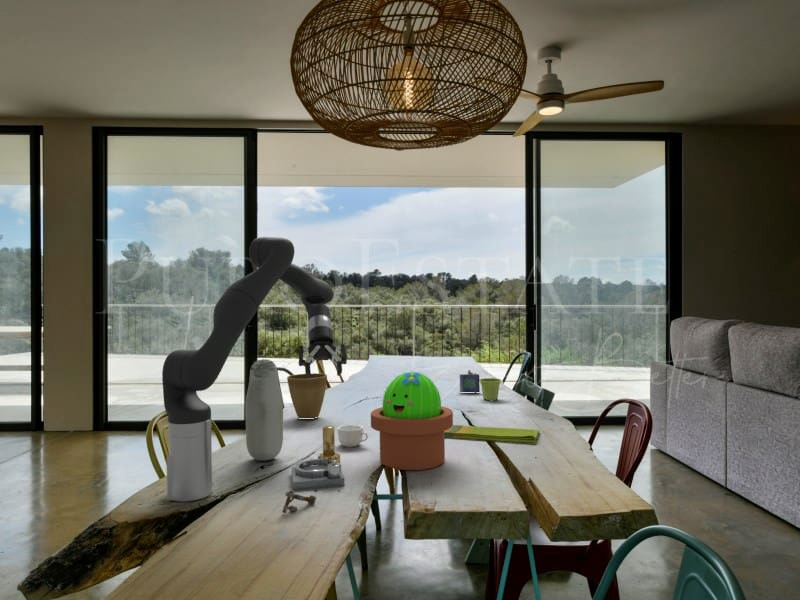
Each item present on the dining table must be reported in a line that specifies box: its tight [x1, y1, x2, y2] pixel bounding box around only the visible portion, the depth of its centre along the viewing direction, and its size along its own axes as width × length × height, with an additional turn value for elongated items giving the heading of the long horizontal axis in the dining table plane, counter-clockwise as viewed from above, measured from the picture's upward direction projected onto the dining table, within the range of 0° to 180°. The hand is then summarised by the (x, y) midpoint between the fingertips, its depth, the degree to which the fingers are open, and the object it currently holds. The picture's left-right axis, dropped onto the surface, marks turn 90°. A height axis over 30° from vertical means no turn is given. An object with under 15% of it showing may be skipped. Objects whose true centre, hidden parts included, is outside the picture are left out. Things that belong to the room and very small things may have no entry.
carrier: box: [291, 458, 345, 491], centre depth 135 cm, size 12×13×6 cm
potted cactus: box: [370, 370, 454, 471], centre depth 149 cm, size 22×22×25 cm
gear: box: [317, 425, 341, 464], centre depth 147 cm, size 6×6×10 cm
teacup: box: [337, 424, 369, 448], centre depth 165 cm, size 10×8×5 cm
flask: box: [459, 370, 481, 393], centre depth 254 cm, size 9×3×11 cm, turn 84°
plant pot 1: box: [286, 373, 328, 418], centre depth 205 cm, size 15×15×16 cm
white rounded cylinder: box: [244, 358, 284, 462], centre depth 152 cm, size 10×10×28 cm
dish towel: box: [444, 424, 540, 445], centre depth 177 cm, size 15×36×3 cm, turn 70°
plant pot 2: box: [479, 377, 502, 401], centre depth 237 cm, size 9×9×9 cm
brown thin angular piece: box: [282, 490, 317, 514], centre depth 116 cm, size 2×8×4 cm, turn 139°
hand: (324, 374), depth 158 cm, fingers open, 8 cm apart
